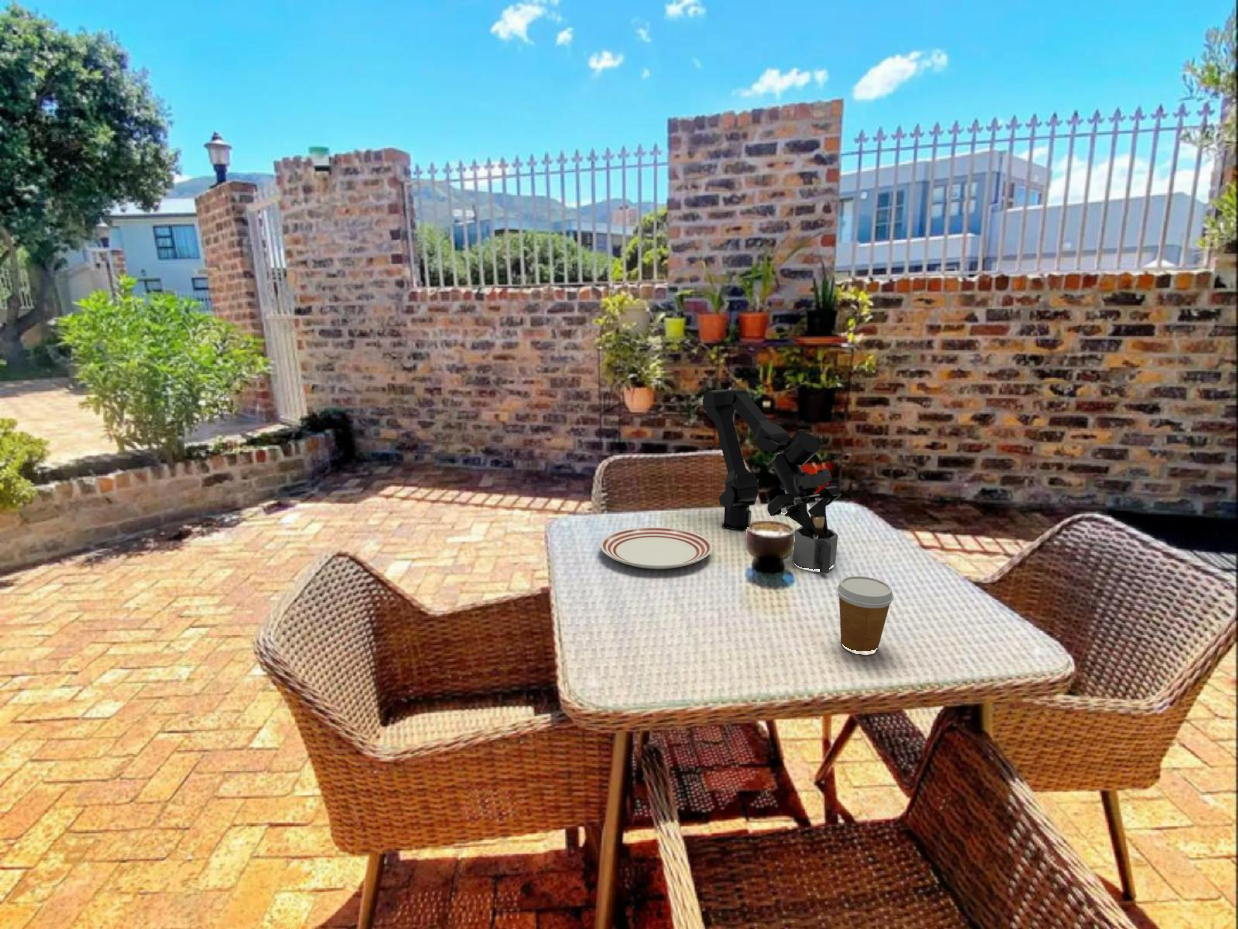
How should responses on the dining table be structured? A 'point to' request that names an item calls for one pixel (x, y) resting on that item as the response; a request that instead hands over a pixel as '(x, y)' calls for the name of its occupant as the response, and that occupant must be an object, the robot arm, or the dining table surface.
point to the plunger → (817, 524)
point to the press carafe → (815, 549)
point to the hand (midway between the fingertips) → (820, 532)
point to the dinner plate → (656, 547)
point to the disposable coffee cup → (863, 611)
